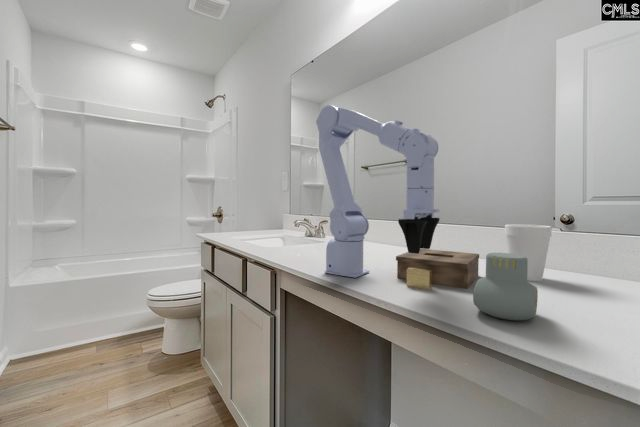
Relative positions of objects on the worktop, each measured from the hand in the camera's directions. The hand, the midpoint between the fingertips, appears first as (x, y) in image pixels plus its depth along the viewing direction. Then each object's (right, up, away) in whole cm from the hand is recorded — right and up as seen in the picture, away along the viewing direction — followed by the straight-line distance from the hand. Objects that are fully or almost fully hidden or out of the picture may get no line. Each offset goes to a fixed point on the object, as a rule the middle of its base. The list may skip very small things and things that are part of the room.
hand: (419, 250), depth 67 cm
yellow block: (0, -8, 0) cm, 8 cm away
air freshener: (+9, -9, -16) cm, 20 cm away
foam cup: (+29, -8, +9) cm, 32 cm away
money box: (+8, -8, +9) cm, 15 cm away
